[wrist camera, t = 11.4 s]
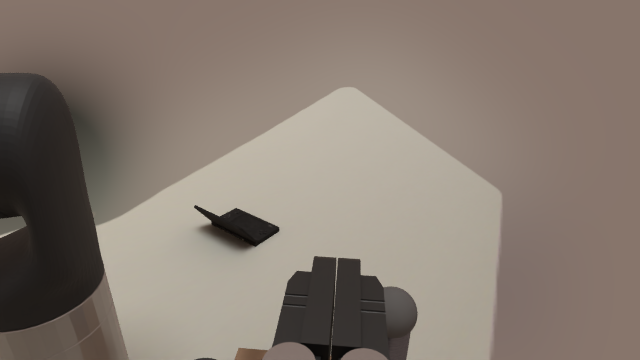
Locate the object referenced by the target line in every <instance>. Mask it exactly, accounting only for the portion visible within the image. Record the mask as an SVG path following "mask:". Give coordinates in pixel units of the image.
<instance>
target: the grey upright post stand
mask: <svg viewBox="0 0 640 360" xmlns="http://www.w3.org/2000/svg"><path fill="white" fill-rule="evenodd" d="M384 299H385V314H386V324H387V336H388V348H389V356H390V359H391V360H406V357H407V351H408V345H409V339H410V332H411V330H412V329H413V328H414V326H415V324H416V321H417V307H416V304H415V302H414V300H413V298H412V297H411V296H410V295H409V294H408V293H407V292H406V291H404V290H403V289H400V288H397V287H385V288H384Z"/></svg>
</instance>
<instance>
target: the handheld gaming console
mask: <svg viewBox="0 0 640 360" xmlns="http://www.w3.org/2000/svg"><path fill="white" fill-rule="evenodd" d="M194 208H195V209H197V210H198V211H199V212H201V213H202V214H203V215H204V216H206V217H207V218H208V219H209V220H211V222H212V225H214V226H216V227H218V228H220V229H223V230H224V231H226V232H228V233H230V234H232V235H234V236H236V237H238V238H240V239H244V241H246V242H248V243H250V244H251V245H253V246H255V247H256V246H257V245H259V244H260V243H262V242H263V241H265V240H266V239H268V238H270V237H271V236H273V235H274V234H276V233H277V232H279V227H277V226H275V225H273V224H271V223H269V222H266V221H264V220H262V219H260V218H258V217H255V216H253V215H251V214H249V213H246V212H244V211H242V210H240V209H237V208H235V209H233V210H231V211H230V212H228V213H226V214H224V215H222V216H220V217H219V216H217V215H215V214H213V213H211V212H209V211H206V210H204V209H202V208H200V207H198V206H196V205H195V206H194Z"/></svg>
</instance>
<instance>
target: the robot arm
mask: <svg viewBox="0 0 640 360" xmlns="http://www.w3.org/2000/svg"><path fill="white" fill-rule="evenodd" d="M17 216H22V217H23V218H24V220H25V222H26V225H27V226H26V227H24V228H21V229H19V230H17V231H15V232H13V233H11V234H9V235H7V236H4V237H2V238H0V360H129V359H128V355H127V351H126V347H125V344H124V340H123V336H122V332H121V328H120V325H119V321H118V317H117V313H116V310H115V306H114V302H113V298H112V295H111V291H110V288H109V284H108V280H107V276H106V272H105V269H104V264H103V261H102V257H101V253H100V248H99V243H98V238H97V232H96V227H95V223H94V218H93V214H92V210H91V206H90V202H89V198H88V193H87V188H86V183H85V178H84V172H83V167H82V161H81V156H80V150H79V144H78V140H77V135H76V131H75V126H74V123H73V119H72V116H71V113H70V110H69V107H68V105H67V103H66V101H65V99H64V97H63V95H62V93H61V92H60V91H59V89H58V88H57V87H56V85H55V84H54V83H52V82H51V81H50V80H48V79H47V78H45V77H44V76H41V75H38V74H31V73H0V219H1V218H9V217H17ZM335 278H336V258H332V257H318V256H314V260H313V267H312V272H305V271H297V272H296V273H295V274H294V275H293V276H292V277H291V278H290V279H289V281H288V283H287V288H286V292H285V296H284V300H283V306H282V309H281V313H280V317H279V321H278V325H277V330H276V334H275V338H274V342H273V345H272V348H271V349H269V350H268V351H267V352H266V354H265V355H264V357H263V359H261V360H330V354H331V360H391V359H390V356H389V348H388V336H387V324H386V314H385V299H384V288H383V286H382V285H381V283H380V282H379V280H378V279H377V277H376V276H363V275H360V259H348V258H338V268H337V281H336V294H335ZM334 299H335V307H334ZM333 315H334V321H333ZM332 328H333V334H332ZM331 341H332V349H331ZM196 360H216V359H212V358H200V359H196Z"/></svg>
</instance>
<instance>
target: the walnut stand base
mask: <svg viewBox="0 0 640 360" xmlns="http://www.w3.org/2000/svg"><path fill="white" fill-rule="evenodd" d="M267 351H268V350H257V349H245V348H238V351H237V354H236V357H235V360H261V359H263V357H264V355H265V354H266V352H267ZM330 360H331V356H330Z"/></svg>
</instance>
